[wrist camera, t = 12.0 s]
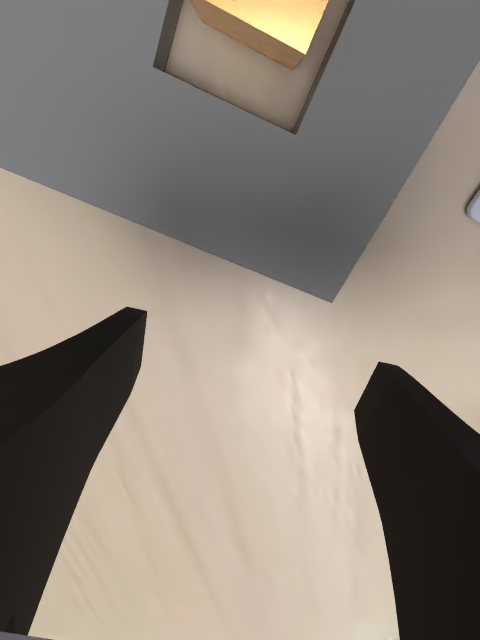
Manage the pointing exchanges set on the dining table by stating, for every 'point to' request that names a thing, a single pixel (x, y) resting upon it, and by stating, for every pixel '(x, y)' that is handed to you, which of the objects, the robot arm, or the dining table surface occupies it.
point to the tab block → (266, 24)
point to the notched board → (231, 128)
